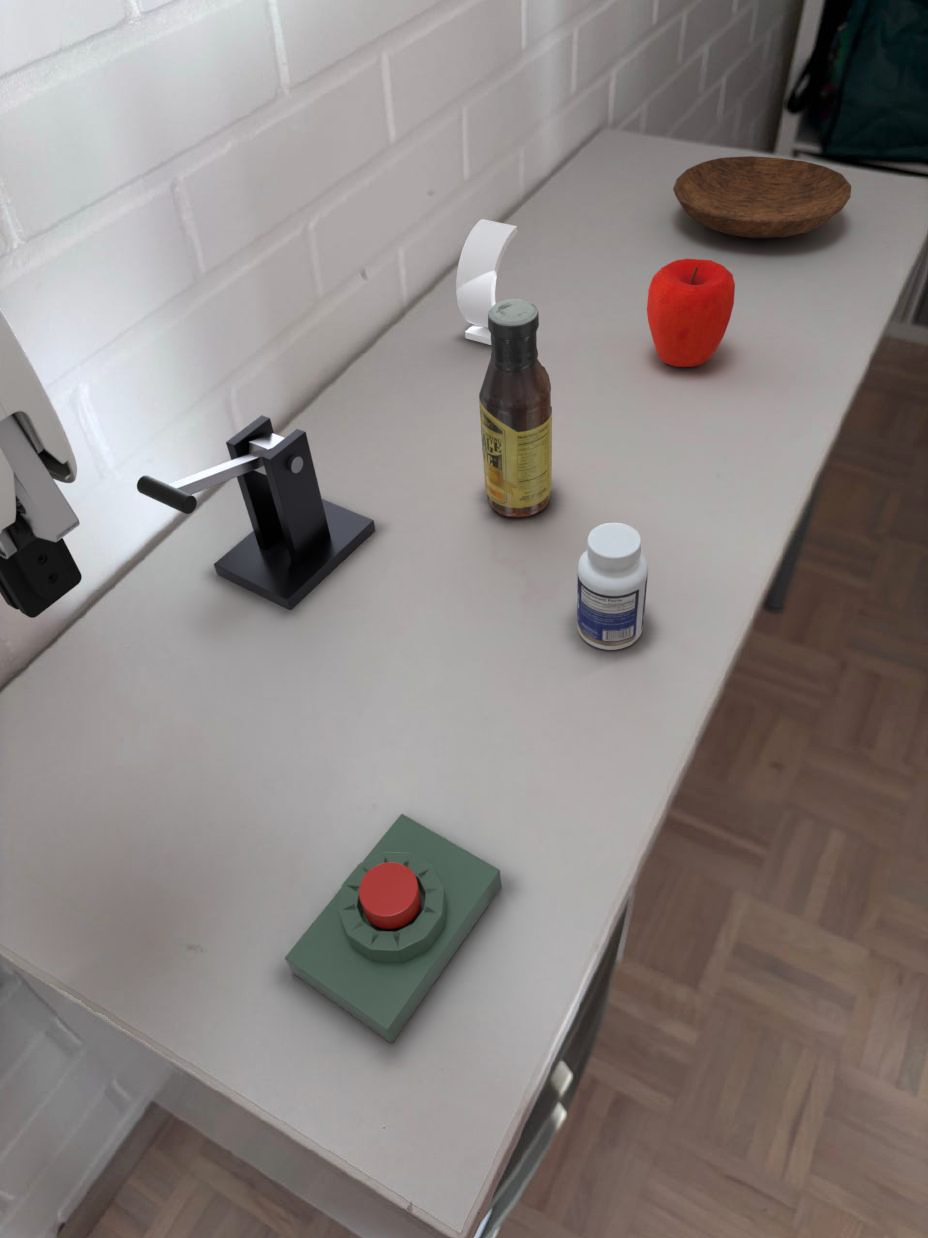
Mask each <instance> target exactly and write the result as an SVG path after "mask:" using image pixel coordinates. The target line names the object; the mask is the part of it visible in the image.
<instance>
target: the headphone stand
mask: <svg viewBox="0 0 928 1238" xmlns="http://www.w3.org/2000/svg"><path fill="white" fill-rule="evenodd" d="M517 235H518V225H513V224H508V223H504V222H498V221H493V220H489V219H484V218H481V219H480V220H478V221H477V223H476V224H475V225H474V226H473V228H471V231H470V232H469V234H468V236H467V238H466V240H465V242H464V245H463V247H462V250H461V253H460V256H459V260H458V264H457V271H456V282H455V291H456V293H455V294H456V300H457V301H456V302H457V305H458V310H459V311H460V313H461V316H462V317H463V319H464V320H465V321H467V322H468V323H469V324H472V325H471V326H470V327H469V328H467V330H465V331H464V335H465V336H464V337H465V339H466V340H470V341H474V342H478V343H481V344H486V345H489V346H491V333H490V331H489V329H488V312H489V310H490V309H491V308H492V307H493V306H494V305H495V304H497V302H496V286H497V280H498V279H497V277H498V273H499V269H500V265H501V263H502V259H503V257H504V254H505V253H506V250H507V248H508V246H509V245H510V243H511V242H512V240H513V239H514V238H515V237H516V236H517Z"/></svg>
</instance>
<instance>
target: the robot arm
mask: <svg viewBox="0 0 928 1238" xmlns="http://www.w3.org/2000/svg"><path fill="white" fill-rule="evenodd" d="M59 417H60V416H59V415H58V413H57V411H56V408H55V407H54V405H53V403H52V401H51V399H50V397H49V394H48V393H47V390H46V388H45V387H44V384H43V382H42V381H41V379H40V376H39V375H38V373H37V371H36V369H35V367H34V365H33V363H32V362H31V360H30V358H29V356H28V354H27V352H26V350H25V349H24V347H23V344H22V343H21V341H20V340H19V338H18V336H17V334H16V332H15V331H14V328H13V326H12V324H11V323H10V321H9V319H8V318H7V316H6V314H5V313H4V310H3V309H2V308H1V306H0V594H1V596H2V598H3V600H4V602H5V603H6V604H7V606H10V607H11V608H13V609H15V610H19V611H20V613H22V614H23V615H25V616H27V617H28V618H30V619H33V618H37V617H39V615H41V614H42V613H43V612H45V611H46V610H48V609H49V608H50V607H51V606H52V605H54V604H55V603H56V602H57V601H59V600H60V599H62V598H63V597H64V596H65V595H66V594H68V593H70V592H71V591H72V590H73V589H74V588H75V587H77V586H78V585H79V584H80V583H81V581H82V578H83V575H82V573H81V571H80V569H79V567H78V565H77V563H76V561H75V559H74V557H73V554H72V553H71V551H70V550H69V548H68V545H67V544H66V541H65V540H64V537H65V536H67V535H69V534H70V533H71V532H72V531H74V530H75V529H76V528H77V527H80V524H81V523H80V520H79V517H78V516H77V514H76V513H75V511H74V509H73V508H72V506H71V505H70V503H69V502H68V500H67V498H66V496H64V494H63V492H62V491H61V489H60V488H59V485H58V484H57V483H56V481H58V482H60V483H63V484H72V483H74V482H75V481H76V480H77V476H78V475H77V474H78V465H77V460H76V457H75V454H74V451H73V448H72V446H71V443H70V440H69V437H68V436H67V433H66V429H65V428H64V426H63V424H62V421H61V420H60V418H59Z"/></svg>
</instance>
